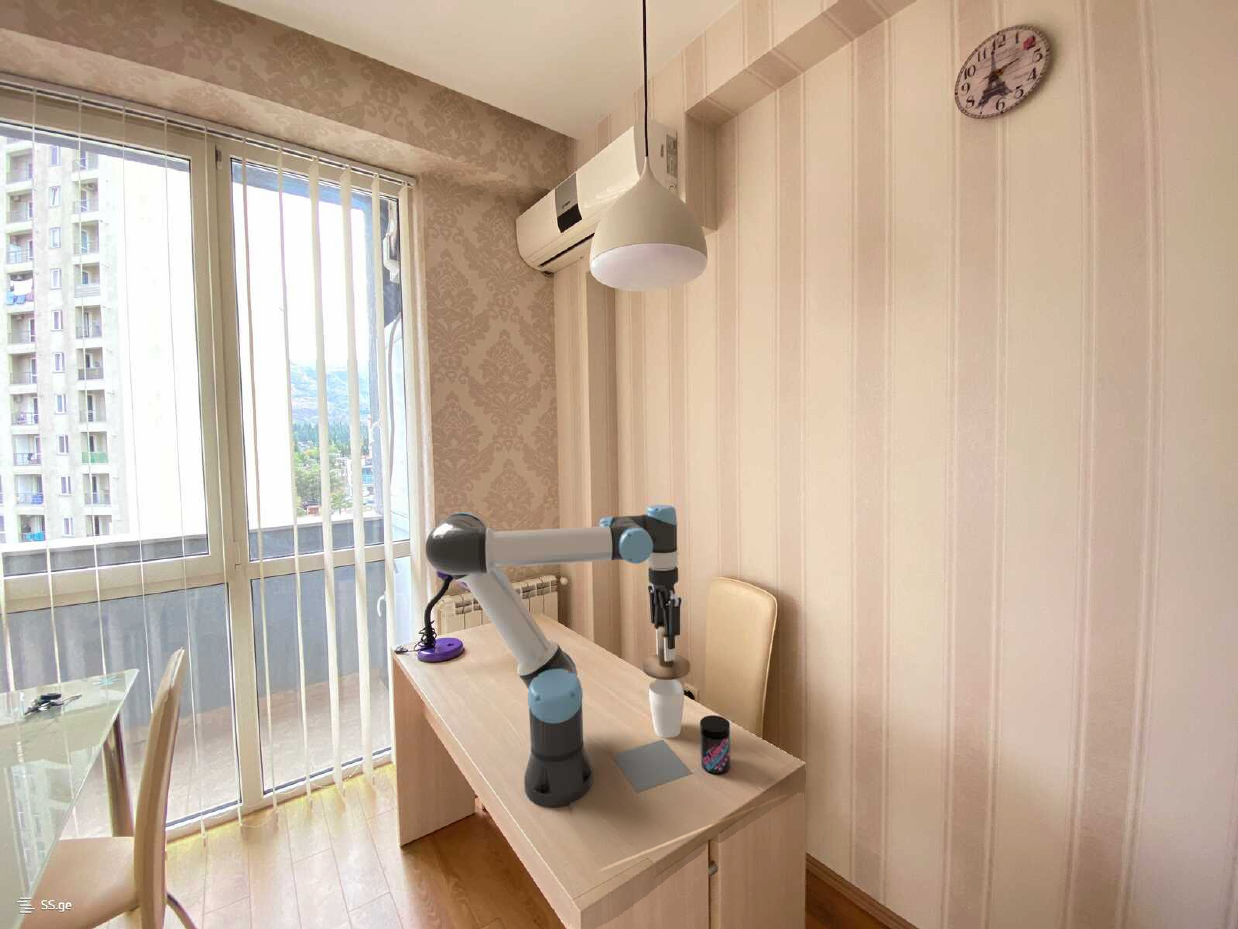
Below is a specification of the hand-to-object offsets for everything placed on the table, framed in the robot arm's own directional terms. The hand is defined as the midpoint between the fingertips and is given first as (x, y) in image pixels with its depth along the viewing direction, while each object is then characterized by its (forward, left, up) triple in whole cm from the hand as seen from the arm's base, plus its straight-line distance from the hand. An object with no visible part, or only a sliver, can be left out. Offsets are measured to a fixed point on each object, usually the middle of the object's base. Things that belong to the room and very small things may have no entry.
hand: (665, 656), depth 130 cm
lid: (0, 0, -3) cm, 3 cm away
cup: (0, 0, -20) cm, 20 cm away
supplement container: (+3, -17, -20) cm, 27 cm away
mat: (-10, -10, -20) cm, 24 cm away
